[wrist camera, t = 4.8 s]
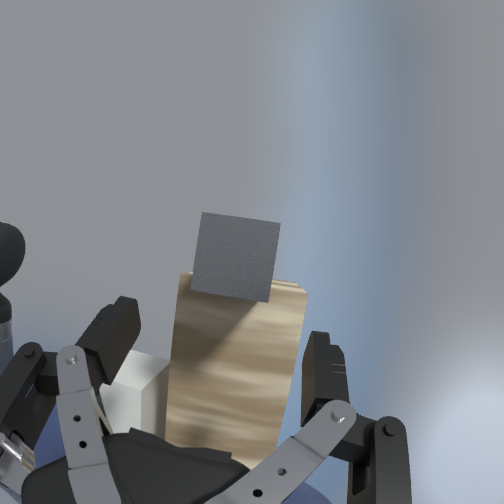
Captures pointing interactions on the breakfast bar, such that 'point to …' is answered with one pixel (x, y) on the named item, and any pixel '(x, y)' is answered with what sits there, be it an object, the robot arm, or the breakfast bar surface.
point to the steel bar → (235, 257)
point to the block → (138, 395)
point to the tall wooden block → (232, 369)
